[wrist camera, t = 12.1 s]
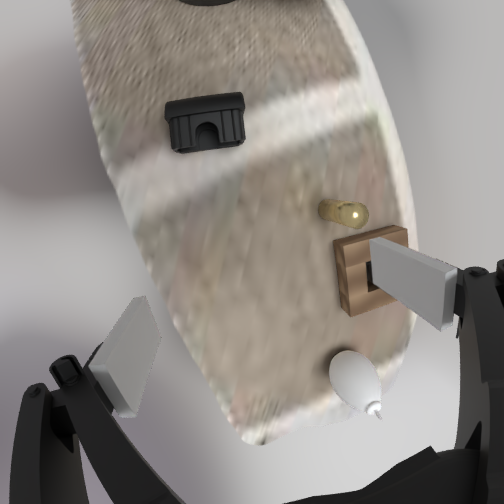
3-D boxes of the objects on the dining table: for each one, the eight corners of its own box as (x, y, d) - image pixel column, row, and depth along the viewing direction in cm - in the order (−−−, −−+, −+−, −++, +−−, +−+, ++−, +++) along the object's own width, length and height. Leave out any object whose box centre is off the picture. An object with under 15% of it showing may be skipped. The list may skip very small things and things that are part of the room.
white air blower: (354, 370, 50) (395, 430, 33) (318, 376, 49) (352, 443, 32) (361, 338, 48) (411, 395, 31) (324, 343, 48) (365, 409, 30)
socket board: (333, 240, 43) (343, 246, 39) (393, 225, 44) (407, 228, 40) (341, 307, 46) (350, 317, 42) (397, 287, 47) (409, 295, 43)
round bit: (316, 201, 41) (344, 204, 32) (335, 197, 42) (366, 200, 32) (320, 221, 42) (348, 231, 32) (338, 217, 42) (370, 226, 33)
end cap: (239, 100, 37) (242, 85, 30) (244, 145, 38) (249, 137, 32) (171, 109, 36) (162, 96, 29) (175, 155, 38) (167, 149, 31)
